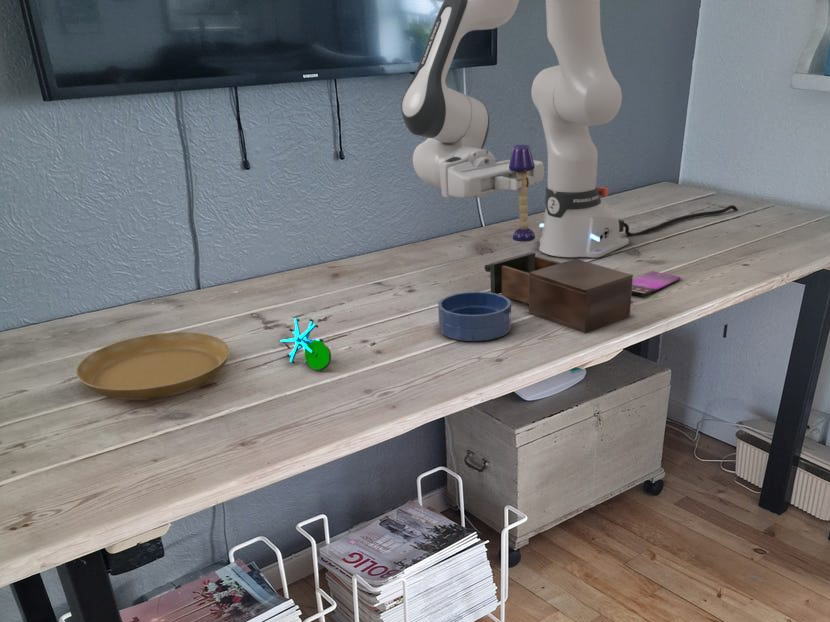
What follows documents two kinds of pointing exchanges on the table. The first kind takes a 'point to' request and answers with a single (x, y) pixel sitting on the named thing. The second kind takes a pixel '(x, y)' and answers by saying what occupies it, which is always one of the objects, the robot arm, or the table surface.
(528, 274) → the drawer
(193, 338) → the plant saucer
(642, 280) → the smartphone
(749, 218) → the table surface
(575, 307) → the cabinet
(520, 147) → the toy lamp
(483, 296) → the bowl
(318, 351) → the stick construction toy
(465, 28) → the robot arm
